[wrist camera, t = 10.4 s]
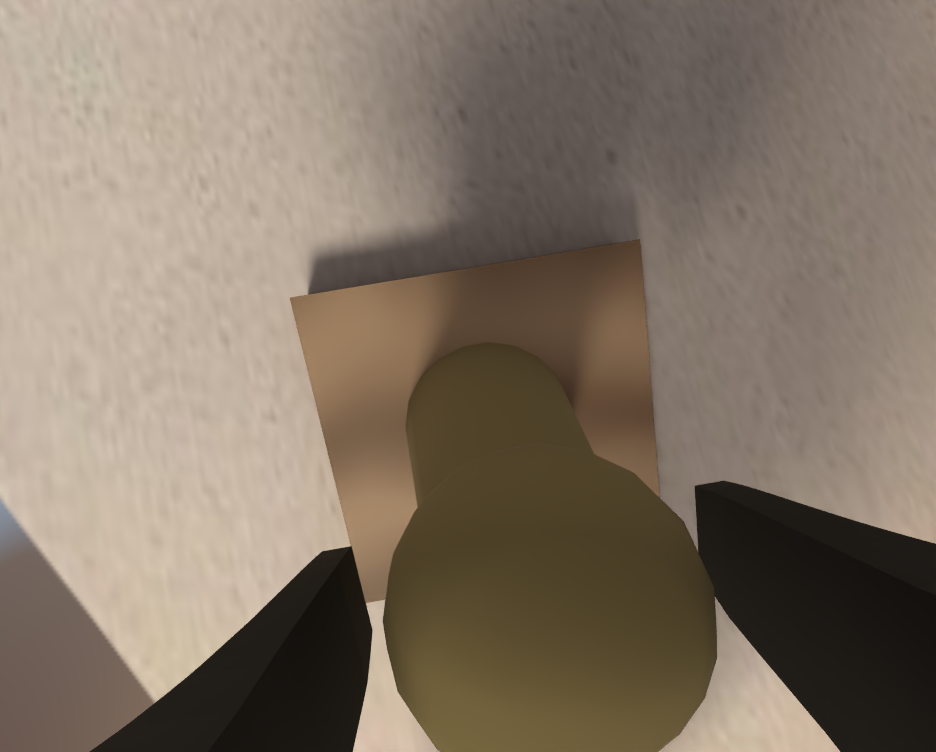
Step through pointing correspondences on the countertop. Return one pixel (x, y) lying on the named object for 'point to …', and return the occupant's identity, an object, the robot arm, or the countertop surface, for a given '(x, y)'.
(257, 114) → the countertop surface
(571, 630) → the olive tapered knobbed peg
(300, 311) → the walnut base
